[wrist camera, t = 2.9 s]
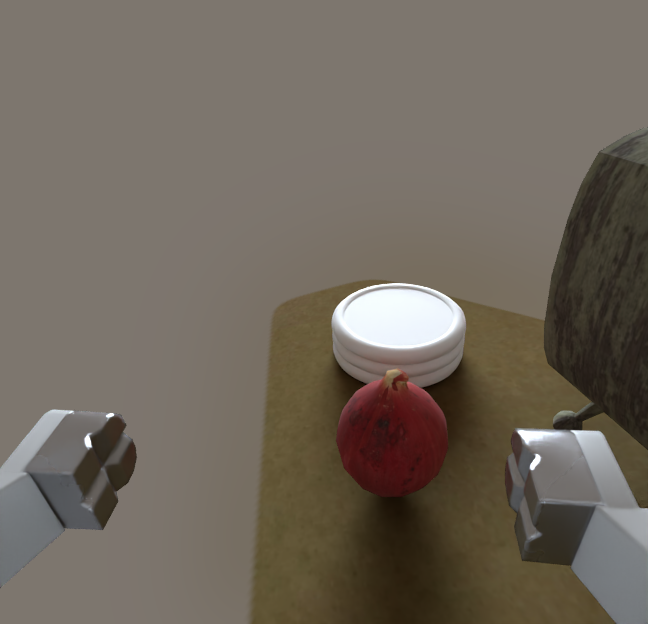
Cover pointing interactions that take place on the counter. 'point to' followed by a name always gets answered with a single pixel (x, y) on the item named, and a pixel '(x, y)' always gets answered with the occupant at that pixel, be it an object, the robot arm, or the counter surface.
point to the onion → (392, 436)
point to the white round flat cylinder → (398, 333)
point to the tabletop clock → (605, 291)
